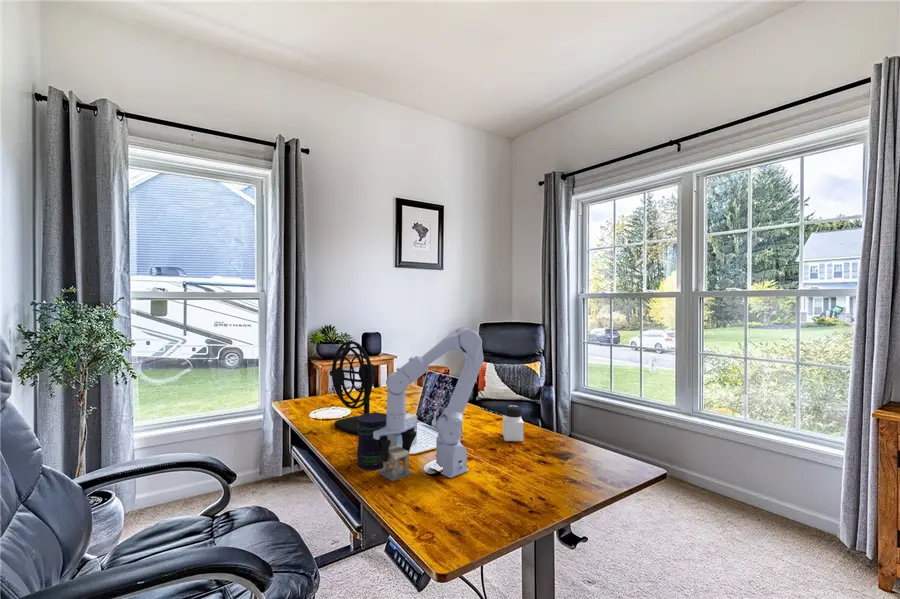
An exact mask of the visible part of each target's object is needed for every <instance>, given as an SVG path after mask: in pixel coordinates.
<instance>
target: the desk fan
mask: <svg viewBox="0 0 900 599" xmlns="http://www.w3.org/2000/svg"><path fill="white" fill-rule="evenodd" d="M350 345H354V346H350ZM349 346H350V347H349ZM355 349H356V350H355ZM365 349H366V348H364V347H363V346H362V345H361V344H360V343H359V342H356V341H349V340H348V341H346V342H343V343H342V344H341V345H340V346H339V347H338V349H337V351H336V353H335V355H334V357H333V360H332V365H331V370H329V376H331V381H332V385H333V389H334V391H335V393H336V395H337V397H338V399H339V400H340V402H341V403H342V404H343V405H344V406H345V407H346V408H348V409H351V410H356V409H360V408H362V407H363V414H366V413H370V400H371V399H370V398H371V397H370V396H371V394H372V389H373V385H374V381H375V379H376V377H377V369H376V366H375V365H374V364H373V363H372V362H371V359H370V357H369V355H368V353H367V351H366V350H365ZM357 350H358V351H359V353H358V352H357ZM349 352H351V353H353V354H354V357H352V359H349V358H348V357H346V356H347V354H348V353H349ZM340 354H341V356H339V355H340ZM355 359H357V361H358V363H359V368H358V371H355V368H354V366H353V364H354V361H355ZM345 360H346V361H347V362H348V365H349V370H347V369H344V361H345ZM364 360H365V361H366V363H365V361H364ZM339 361H340V362H339ZM338 362H339V367H337V363H338ZM346 373H347V374H349V377H345V374H346ZM355 374H356V375H358V377H359V379H358V378H356V375H355ZM345 381H347V382H350V383H351V388H350V389H349V391H348V390H347V387H346V385H345ZM355 382H356V383H361V385H360V389H358V388H357V386H356V385H355V384H356V383H355ZM342 389H343V391H342ZM353 390H355V391H356V392H358V395H357V397H356V398H354V397H352V396H351V395H350V394H352V392H353ZM343 392H344V393H343ZM362 395H363V398H362ZM344 396H345V397H347V398H348V399H349V400H351V401H348V400H346V399H344ZM358 403H360V404H359V405H358ZM351 404H352V405H351ZM359 416H360V415H355V416H349V417H344V418H342V419H337V420H335V422H334V427H335V428H338V429H340V430H342V431H344V432H346V433H350V434H355V435H356V434H357V432H358V430H357V426H358V417H359ZM357 435H358V434H357Z"/></svg>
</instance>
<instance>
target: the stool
mask: <svg viewBox="0 0 900 599" xmlns="http://www.w3.org/2000/svg"><path fill="white" fill-rule="evenodd" d="M409 460H410V451H407V450H405V449H403V448H401V447H399V446H395V447H392V448H389V450H388V462H383V468H382V469H383V471H384V472H385V473H386V472H389V467H390V466H393V471H392V477H394V478H396V477H398V468H399V465H400V461H401V462H402V467H403V473H404V474H408V473H409V471H410V464H409V463H410V461H409Z"/></svg>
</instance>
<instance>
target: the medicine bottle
mask: <svg viewBox="0 0 900 599" xmlns="http://www.w3.org/2000/svg"><path fill="white" fill-rule="evenodd" d="M524 431H525V422H524V420H523V419H522V407H520V406H518V405H507V406H506V407H505V415H504V416H503V417H502V436H503V439H504V441H505V442H524V440H525V439H524V438H525V437H524V436H525V432H524Z"/></svg>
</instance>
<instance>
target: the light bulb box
mask: <svg viewBox="0 0 900 599" xmlns="http://www.w3.org/2000/svg"><path fill="white" fill-rule="evenodd" d="M411 422H414V423H417V424H418V415H416V414H412V413H409V412H406V423H411ZM414 431H415V432H416V437H415V438H414V440H413V442H412V445H411V446H413V445H415V444H417V442H418V441H417V440H418V439H417V437H418V434H417V433H418V429H417V430H414ZM388 440H390V441H391V442H390V445H389V448H392V447H395V446H399V447H401V448H403V443H402V435H401V433H398V434H394V435H390V436H388ZM415 446H416V445H415ZM413 447H414V446H413Z"/></svg>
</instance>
